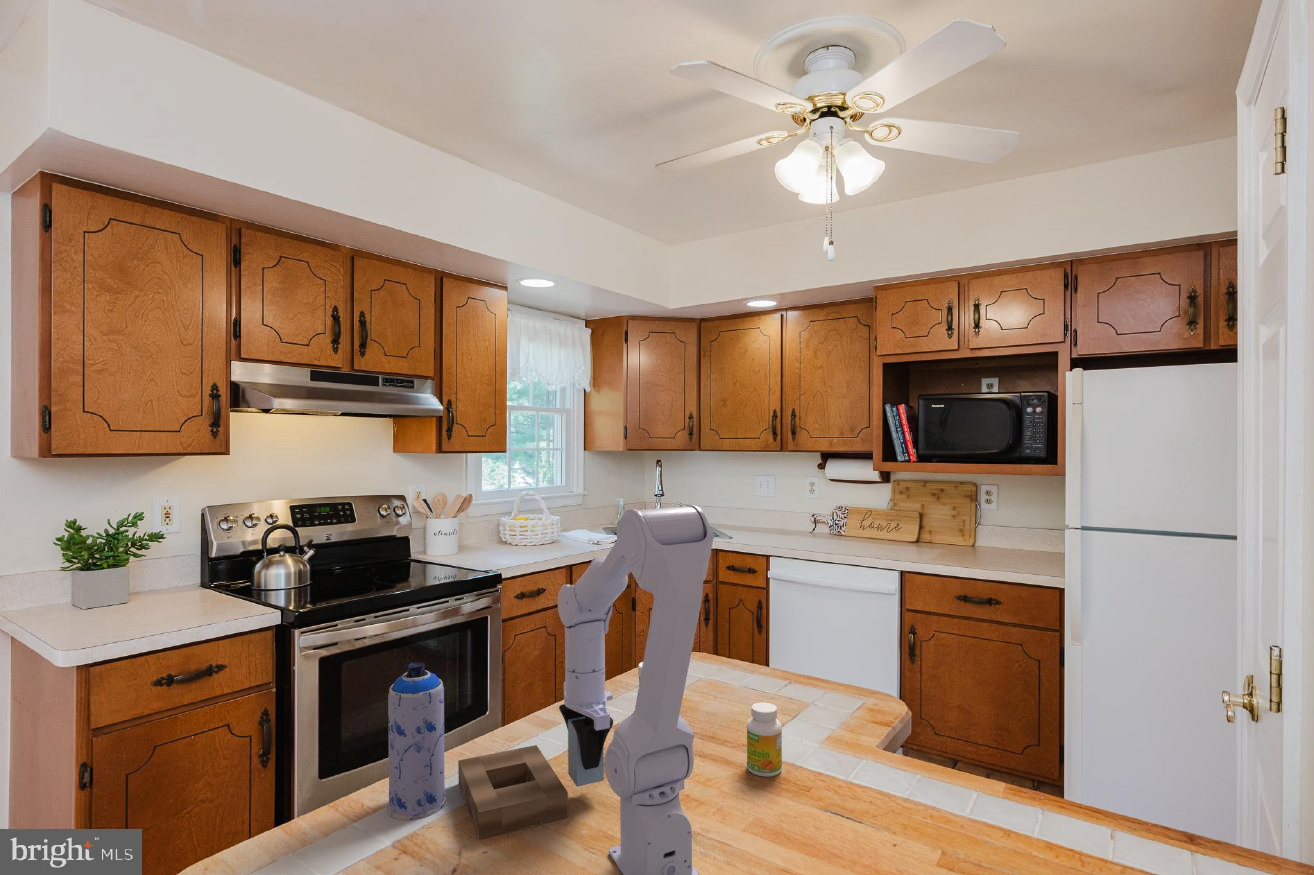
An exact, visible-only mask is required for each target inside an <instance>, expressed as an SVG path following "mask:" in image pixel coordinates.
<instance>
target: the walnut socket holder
mask: <svg viewBox="0 0 1314 875" xmlns="http://www.w3.org/2000/svg"><path fill="white" fill-rule="evenodd" d="M457 764H458V767H457V768H458V774H457V775H458V785H459V788H460V791H461V793H462V796H463V800H464V802H465V805H466V808H467V810H468V813H469V815H470V818H471V821H472V823H473V826H474V829H475V832H476V835H477V837H478V840H483V839H487V838H491V837H494V836H498V835H502V834H507V833H511V832H515V831H519V830H522V829H527V828H530V827H535V826H539V825H543V824H547V823H551V822H554V821H559V820H563V819H567V818H569V814H568V813H569V807H568V806H569V805H568V804H569V800H568V799H569V798H568V796H569V792H568V790H567V789H566V787H565V786H564V784H563V783H562V781H561V779H560V778H559V777H558V775H557V774H556V772H555V771H554V769H553V767H552V766H551V765H550V763H549V762H548V759H547V758H546V757H545V756H544V754H543V752H542V751H541V750H540V748H539V747H538V745H537V744H534V745H529V746H523V747H520V748H515V749H510V750H504V751H499V752H495V753H489V754H484V755H478V756H474V757H468V758H463V759H458V761H457Z"/></svg>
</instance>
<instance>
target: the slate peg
mask: <svg viewBox="0 0 1314 875" xmlns="http://www.w3.org/2000/svg"><path fill="white" fill-rule="evenodd" d="M582 718H585V717H579V718H574V719H569V720H568V729H567V772H568V776H569V777H570V778H571V780H572V782H573V783H574V785H575V786H576V787H577V788H578V787H581V786H586V785H591V784H595V783H599V782H603V781H605V780H604V778H605V776H604V775H605V773H604V771H605V756H604V755H605V753H604V746H603V750H602V754H601V759H600V763H599V766H598V767H596V768H592V769H587V770H585V769H584V767H583V764H582V760H581V752H580V745H579V740H578V737H577V734H576V731H575V729H574V727H573V725H572V720H577V719H582Z"/></svg>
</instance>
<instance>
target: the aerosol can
mask: <svg viewBox="0 0 1314 875" xmlns="http://www.w3.org/2000/svg"><path fill="white" fill-rule="evenodd" d="M443 684H444V682H443V681H442V679H441V678H439V677H438V676H437V675H436V674H435V673H432V672H430V671H428V670H426V669H425V663H424V662H421V661H413V662H410V663H409V664H408V666H407V671H406V672H405V673H403V674H402V675H400V676H399V677H398V678H396V680H395V681H394V682H393V684H392V685H391V686H390V687H389V690H388V695H387V697H388V698H387V699H388V700H387V701H388V703H387V704H388V705H387V706H388V710H387V711H388V724H387V725H388V805H387V812H388V814H389V815H390V816H391V817H392V818H394V819H398V820H402V821H403V820H404V821H412V820H420V819H423V818H426V817H430V816H432V815H434V814H436V813H437V812H439V811H441V810H442V809H443V808H444V806H445V805H446V802H447V795H446V793H445V792H446V790H445V788H446V786H445V785H446V784H445V687H444V685H443Z"/></svg>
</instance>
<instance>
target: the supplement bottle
mask: <svg viewBox="0 0 1314 875" xmlns="http://www.w3.org/2000/svg"><path fill="white" fill-rule="evenodd" d="M750 710H751V712H750V713H751V718H749V719H748V721H747V724H746V766H747V770H748V771H749V772H750V773H752V774H753V775H756V776H758V777H759V776H760V777H774V776H777V775H779V774H780V773H781V772H782V770H783V768H782V766H783V762H782V761H783V759H782V758H783V756H782V755H783V752H782V750H783V749H782V748H783V746H782V742H783V740H782V739H783V738H782V732H783V731H782V730H783V729H782V724H781V722H780V720H778V719H777V717H778V708H777V706H776V705H775V704H773V703H770V702H756V703H754V704H752V705H751V709H750Z"/></svg>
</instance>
